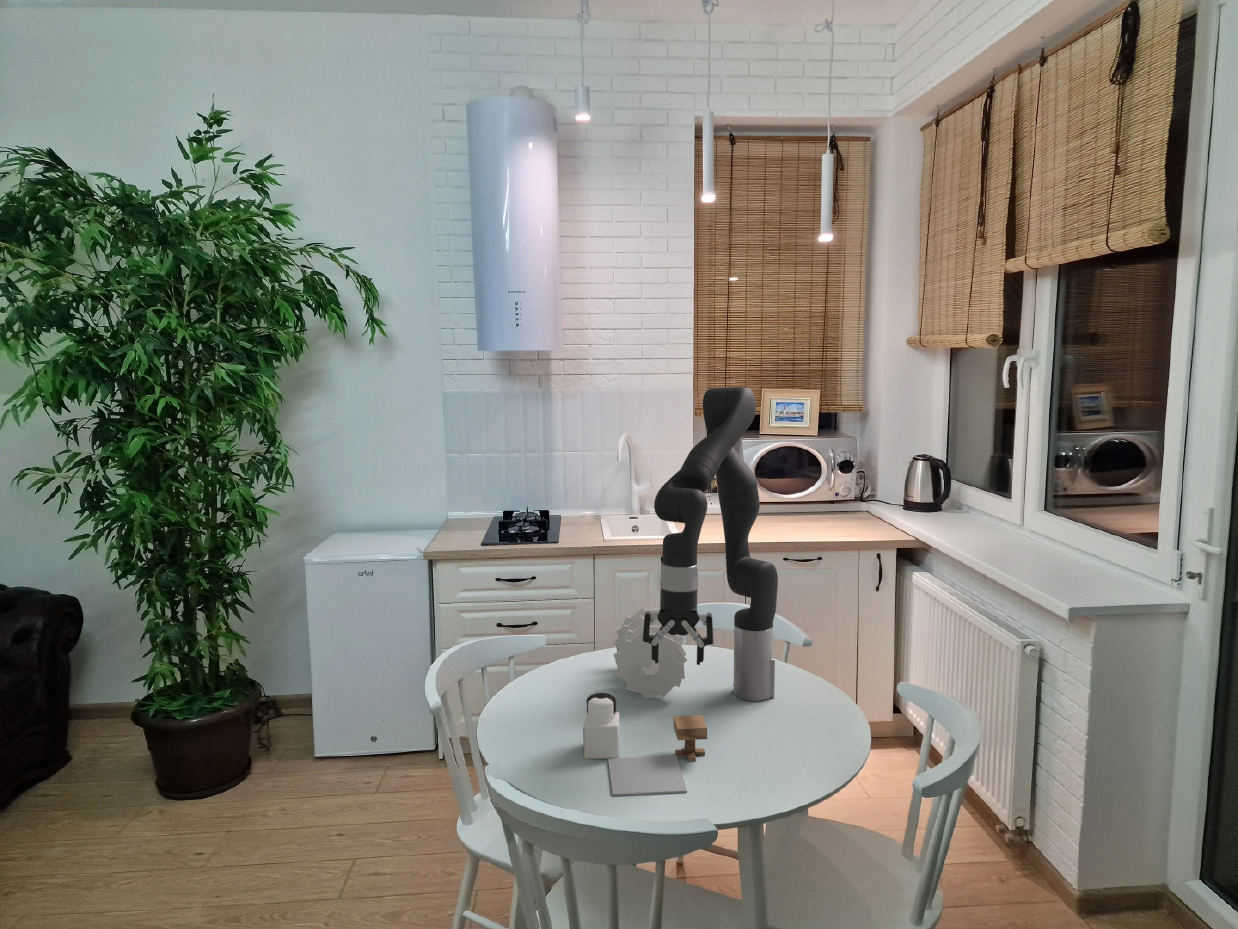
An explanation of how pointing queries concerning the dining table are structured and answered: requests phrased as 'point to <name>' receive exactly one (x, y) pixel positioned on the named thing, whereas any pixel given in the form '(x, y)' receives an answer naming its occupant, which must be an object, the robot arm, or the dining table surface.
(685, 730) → the wooden pedestal stool
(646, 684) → the spiral staircase
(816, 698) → the dining table surface
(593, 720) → the blocky figurine
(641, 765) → the mat
